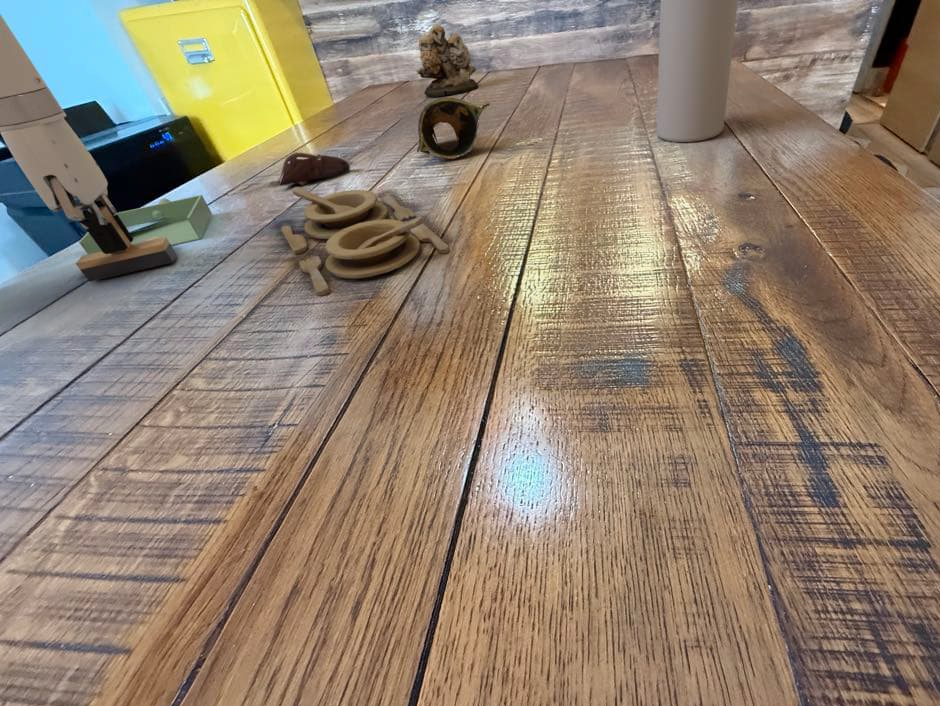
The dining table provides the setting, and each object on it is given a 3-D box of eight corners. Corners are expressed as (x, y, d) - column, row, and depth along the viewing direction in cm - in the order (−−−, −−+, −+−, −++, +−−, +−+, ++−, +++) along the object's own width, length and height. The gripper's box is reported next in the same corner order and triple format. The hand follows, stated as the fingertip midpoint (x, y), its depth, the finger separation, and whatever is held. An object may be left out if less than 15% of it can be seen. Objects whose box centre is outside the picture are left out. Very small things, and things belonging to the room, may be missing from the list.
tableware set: (281, 231, 85) (264, 195, 81) (392, 197, 91) (382, 162, 87) (318, 301, 65) (297, 257, 61) (458, 252, 71) (448, 209, 67)
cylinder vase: (647, 131, 103) (650, -30, 87) (706, 120, 104) (721, -41, 87) (670, 147, 94) (679, -30, 77) (734, 135, 95) (757, -42, 78)
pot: (465, 88, 112) (473, 68, 96) (493, 138, 117) (505, 127, 100) (400, 131, 112) (397, 119, 96) (430, 180, 117) (432, 176, 101)
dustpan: (201, 238, 87) (189, 217, 84) (94, 263, 84) (78, 242, 81) (218, 202, 101) (207, 183, 98) (126, 222, 98) (113, 203, 96)
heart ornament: (288, 199, 106) (297, 155, 108) (346, 203, 106) (353, 159, 108) (273, 178, 99) (282, 132, 102) (334, 183, 99) (343, 137, 102)
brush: (89, 281, 77) (44, 223, 71) (95, 273, 79) (52, 216, 73) (173, 262, 79) (136, 204, 73) (177, 255, 81) (141, 198, 75)
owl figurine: (428, 100, 152) (411, 30, 141) (418, 95, 161) (402, 29, 149) (483, 88, 157) (472, 19, 145) (471, 83, 165) (460, 18, 154)
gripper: (19, 105, 70) (109, 233, 82) (-42, 130, 58) (74, 276, 70) (78, 94, 71) (158, 223, 83) (30, 117, 59) (132, 262, 72)
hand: (119, 246), depth 77 cm, fingers closed on brush, 2 cm apart
